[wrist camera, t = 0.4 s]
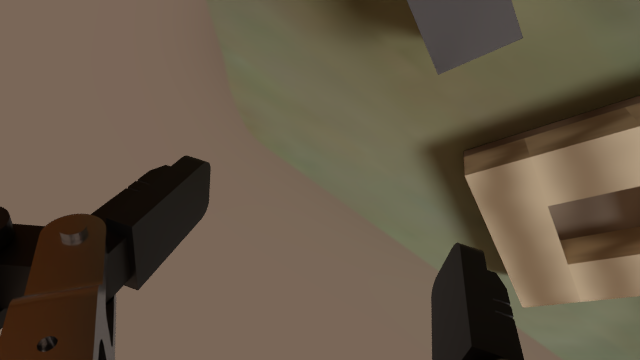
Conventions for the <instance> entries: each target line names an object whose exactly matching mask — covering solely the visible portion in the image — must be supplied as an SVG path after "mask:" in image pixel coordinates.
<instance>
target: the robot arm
mask: <svg viewBox="0 0 640 360" xmlns="http://www.w3.org/2000/svg"><path fill="white" fill-rule="evenodd" d="M209 188H210V164H209V163H208V162H205V161H202V160H199V159H196V158H193V157H190V156H184V157H182V158H181V159H180V160H178V161H177V162H176V163H175V164H173V165H172V166H167V165H164V166H162V167H159V168H156V169H153V170H150V171H149V172H147V173H146V174H145V175H143V176H142V177H141V178H139V179H138V181H135V182H134V183H133V184H131V185H130V186H129V187H128V189H124V190H123V191H122V192H120V193H119V194H118V195H116V196H115V197H114V198H112V199H111V200H110V201H108V202H107V203H106V204H104V205H103V206H102V207H100V208H99V209H97V210H96V211H95V212H93V213H92V214H91V215H89V214H72V215H67V216H63V217H60V218H58V219H56V220H54V221H52V222H50V223H49V224H47V225H46V226H34V225H33V226H32V225H21V224H12V221H11V218H10V215H9V213H8V211H7V210H6V209H4V208H2V207H0V329H1V328H2V331H1V335H0V360H115V334H116V293H117V292H118V291H119V289H120V288H121V287H122V286H123V285H125V286H128V287H130V288H133V289H136V290H139V289H140V288H141V286H142V285H143V284H144V283H145V282H146V281H147V280H148V279H149V277H150V276H151V275H152V274H153V273H154V272H155V271H156V270H157V268H158V267H159V266H160V265H161V264H162V263H163V262H164V260H165V259H166V258H167V257H168V256H169V255H170V254H171V253H172V252H173V250H174V249H175V248H176V247H177V246H178V245H179V244H180V242H181V241H182V240H183V239H184V238H185V237H186V236H187V235H188V233H189V232H190V231H191V230H192V229H193V228H194V227H195V225H196V224H197V223H198V222H199V221H200V220H201V219H202V217H203V216H204V214H205V212H206V210H207V207H208V203H209ZM431 301H432V360H524V358H523V353H522V349H521V345H520V341H519V337H518V333H517V329H516V325H515V321H514V319H513V313H512V309H511V307H510V301H509V297H508V293H507V288H506V287H505V285H504V284H503V283H502V281H501V280H500V278H499V277H498V275H497V274H496V273H495V272H491V271H488V270H487V267H486V261H485V256H484V253H483V251H481V250H478V249H475V248H472V247H469V246H466V245H463V244H460V243H456V244H455V245H454V246H453V247H452V249H451V251H450V253H449V255H448V257H447V258H446V260H445V262H444V264H443V266H442V268H441V269H440V271H439V273H438V275H437V277H436V279H435V282H434V285H433V289H432V297H431Z"/></svg>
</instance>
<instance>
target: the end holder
mask: <svg viewBox="0 0 640 360" xmlns="http://www.w3.org/2000/svg"><path fill="white" fill-rule="evenodd" d="M464 173H465V178H466V180H467V182H468V185H469V187H470V189H471V191H472V194H473V196H474V198H475V200H476V203H477V205H478V207H479V209H480V212H481V214H482V216H483V219H484V221H485V223H486V225H487V228H488V230H489V232H490V234H491V237H492V239H493V241H494V243H495V246H496V248H497V250H498V252H499V255H500V257H501V259H502V261H503V264H504V266H505V268H506V271H507V273H508V275H509V277H510V280H511V282H512V284H513V286H514V289H515V291H516V293H517V295H518V298H519V300H520V302H521V304H522V307H523V308H524V307H534V306H544V305H554V304H564V303H574V302H584V301H594V300H604V299H614V298H624V297H634V296H640V96H637V97H634V98H631V99H628V100H624V101H621V102H618V103H615V104H612V105H609V106H605V107H602V108H599V109H596V110H593V111H590V112H586V113H583V114H580V115H577V116H574V117H571V118H567V119H564V120H561V121H558V122H555V123H552V124H548V125H545V126H542V127H539V128H536V129H533V130H529V131H526V132H523V133H520V134H517V135H514V136H510V137H507V138H504V139H501V140H498V141H495V142H491V143H488V144H485V145H482V146H479V147H476V148H472V149H469V150H466V151H464Z"/></svg>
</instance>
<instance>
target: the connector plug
mask: <svg viewBox="0 0 640 360" xmlns="http://www.w3.org/2000/svg"><path fill="white" fill-rule="evenodd" d="M407 2H408V4H409V7H410V9H411V11H412V14H413V16H414V19H415V21H416V23H417V26H418V28H419V30H420V33H421V35H422V38H423V40H424V42H425V45H426V47H427V49H428V52H429V54H430V57H431V59H432V61H433V64H434V66H435V68H436V71H437V73H438V75H439V74H441V73H443V72H446V71H448V70H450V69H453V68H455V67H457V66H460V65H462V64H464V63H466V62H469V61H471V60H473V59H476V58H478V57H480V56H483V55H485V54H487V53H490V52H492V51H494V50H497V49H499V48H501V47H503V46H506V45H508V44H510V43H513V42H515V41H517V40H520V39H522V38H523V36H522V33H521V30H520V27H519V24H518V20H517V17H516V14H515V11H514V8H513V5H512V1H511V0H407Z"/></svg>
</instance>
